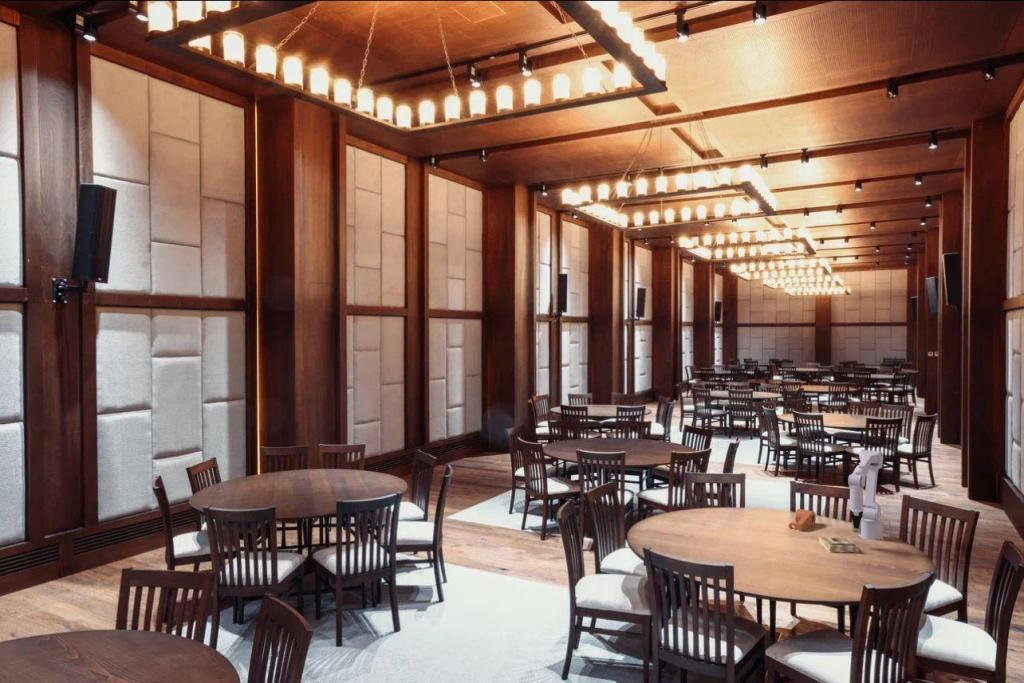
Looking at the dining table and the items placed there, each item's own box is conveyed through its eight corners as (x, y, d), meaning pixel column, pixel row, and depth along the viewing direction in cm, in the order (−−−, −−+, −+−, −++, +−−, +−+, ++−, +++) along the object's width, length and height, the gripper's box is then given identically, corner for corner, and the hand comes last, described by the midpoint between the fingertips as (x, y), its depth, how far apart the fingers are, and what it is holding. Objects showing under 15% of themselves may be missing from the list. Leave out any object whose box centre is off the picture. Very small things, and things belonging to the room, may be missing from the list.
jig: (846, 543, 338) (846, 536, 338) (858, 552, 324) (858, 545, 324) (819, 543, 339) (819, 536, 339) (829, 552, 325) (829, 544, 325)
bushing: (861, 531, 334) (861, 516, 334) (861, 533, 331) (861, 518, 331) (851, 529, 336) (852, 515, 336) (852, 532, 332) (852, 517, 332)
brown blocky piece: (801, 522, 379) (801, 507, 379) (815, 524, 373) (815, 510, 373) (786, 529, 364) (786, 514, 364) (801, 532, 359) (801, 517, 359)
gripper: (848, 495, 342) (847, 522, 342) (846, 501, 329) (846, 529, 329) (863, 496, 338) (863, 524, 338) (863, 503, 326) (863, 531, 326)
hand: (856, 527), depth 333 cm, fingers closed on bushing, 4 cm apart
